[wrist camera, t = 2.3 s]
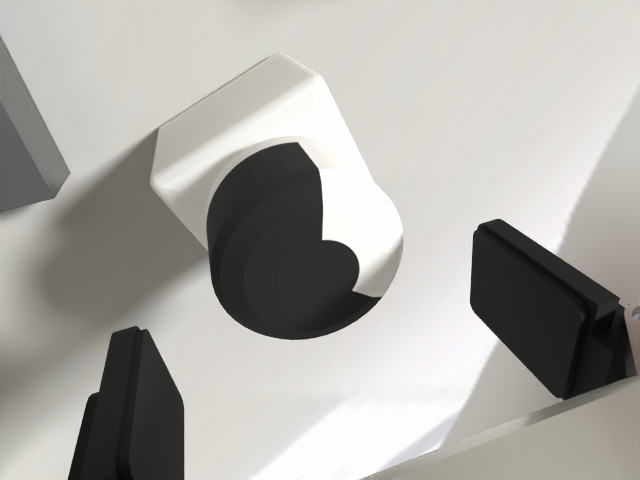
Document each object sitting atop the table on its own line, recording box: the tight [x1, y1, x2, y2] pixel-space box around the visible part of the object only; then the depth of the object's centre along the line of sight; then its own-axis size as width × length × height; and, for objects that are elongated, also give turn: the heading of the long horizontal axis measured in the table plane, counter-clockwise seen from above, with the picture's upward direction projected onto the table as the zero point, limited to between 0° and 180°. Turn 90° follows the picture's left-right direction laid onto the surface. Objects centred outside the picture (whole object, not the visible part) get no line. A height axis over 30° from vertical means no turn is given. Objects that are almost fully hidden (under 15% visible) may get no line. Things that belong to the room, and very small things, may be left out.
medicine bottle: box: [150, 52, 403, 340], centre depth 17 cm, size 7×7×12 cm
